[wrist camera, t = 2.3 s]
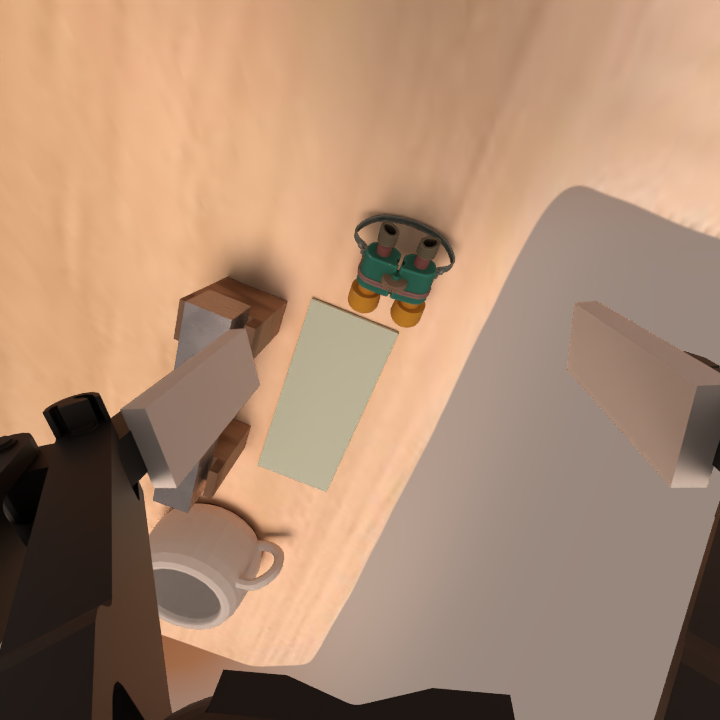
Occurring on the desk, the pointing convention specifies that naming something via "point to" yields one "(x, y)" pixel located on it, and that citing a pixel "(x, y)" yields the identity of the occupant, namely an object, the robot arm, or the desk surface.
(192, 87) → the desk surface
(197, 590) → the mug
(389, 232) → the binoculars
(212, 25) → the desk surface
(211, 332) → the rail
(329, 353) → the mat
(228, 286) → the rack
